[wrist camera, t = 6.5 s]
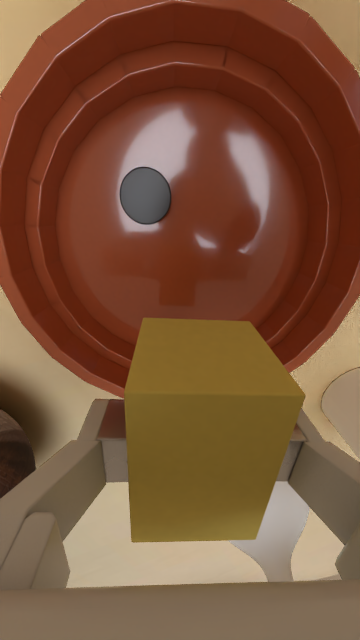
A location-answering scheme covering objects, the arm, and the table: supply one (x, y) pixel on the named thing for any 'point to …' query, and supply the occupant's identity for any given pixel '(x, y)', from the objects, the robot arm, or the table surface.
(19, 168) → the bowl
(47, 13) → the table surface
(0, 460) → the wooden sphere
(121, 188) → the dark grey flat disc
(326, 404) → the cylindrical container
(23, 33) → the table surface
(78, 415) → the table surface
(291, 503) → the flower in vase
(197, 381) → the sponge
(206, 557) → the table surface
